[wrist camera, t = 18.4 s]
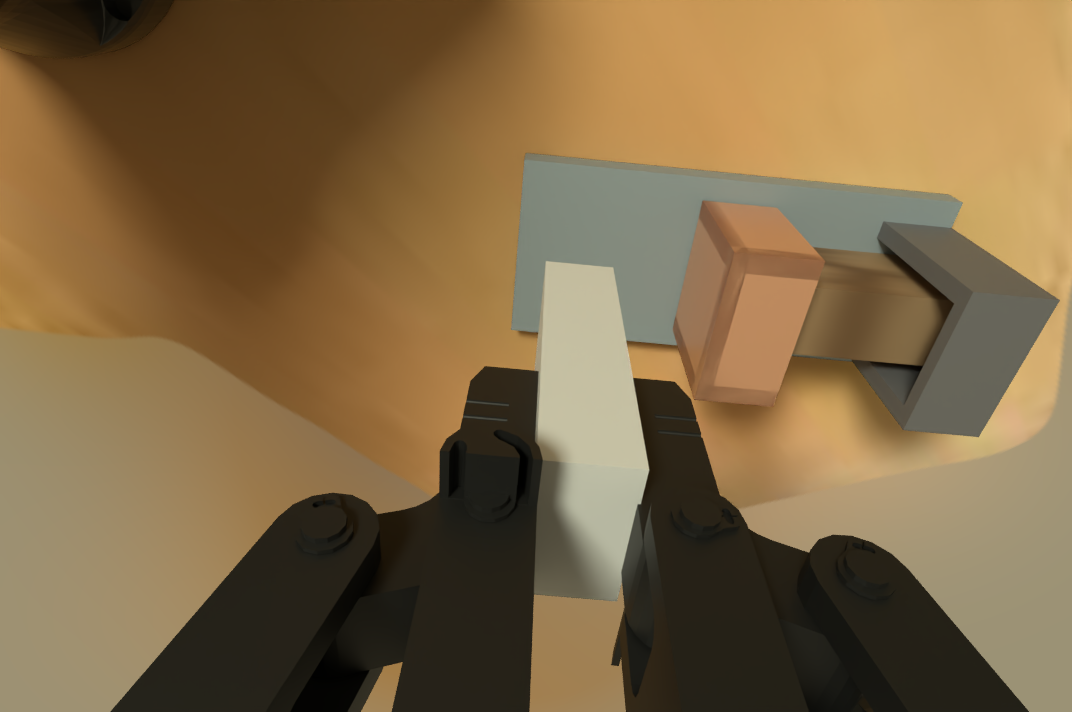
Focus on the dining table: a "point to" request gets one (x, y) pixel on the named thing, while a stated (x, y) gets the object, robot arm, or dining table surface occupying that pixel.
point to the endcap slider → (743, 302)
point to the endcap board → (825, 222)
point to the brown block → (872, 310)
